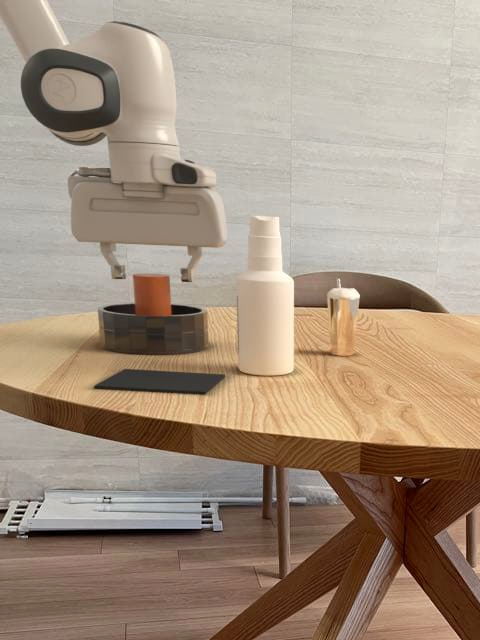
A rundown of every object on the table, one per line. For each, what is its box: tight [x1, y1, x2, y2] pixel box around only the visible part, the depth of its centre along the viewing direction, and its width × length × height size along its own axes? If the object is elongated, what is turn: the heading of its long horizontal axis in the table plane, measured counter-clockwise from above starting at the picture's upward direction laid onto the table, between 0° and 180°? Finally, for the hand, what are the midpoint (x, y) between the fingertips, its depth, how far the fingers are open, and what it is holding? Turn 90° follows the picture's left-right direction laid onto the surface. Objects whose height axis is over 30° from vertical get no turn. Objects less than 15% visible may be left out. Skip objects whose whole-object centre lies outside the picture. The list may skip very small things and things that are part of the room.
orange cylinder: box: [132, 273, 172, 316], centre depth 114 cm, size 5×5×9 cm
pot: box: [97, 302, 209, 356], centre depth 115 cm, size 14×14×5 cm
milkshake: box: [326, 278, 361, 357], centre depth 116 cm, size 4×5×10 cm
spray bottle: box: [235, 215, 295, 377], centre depth 100 cm, size 7×7×18 cm
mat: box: [94, 368, 226, 395], centre depth 94 cm, size 12×10×1 cm
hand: (153, 280), depth 113 cm, fingers open, 8 cm apart
